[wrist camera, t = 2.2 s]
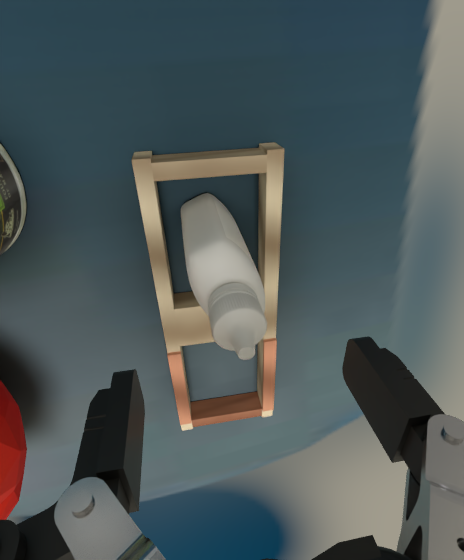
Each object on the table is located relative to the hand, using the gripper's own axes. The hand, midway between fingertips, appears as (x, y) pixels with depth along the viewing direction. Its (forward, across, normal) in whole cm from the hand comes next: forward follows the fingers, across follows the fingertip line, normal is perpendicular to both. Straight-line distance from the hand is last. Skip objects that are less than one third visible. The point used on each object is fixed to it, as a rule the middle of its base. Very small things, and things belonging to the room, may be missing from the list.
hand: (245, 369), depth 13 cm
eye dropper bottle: (+13, 0, 0) cm, 13 cm away
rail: (+13, 0, +6) cm, 14 cm away
